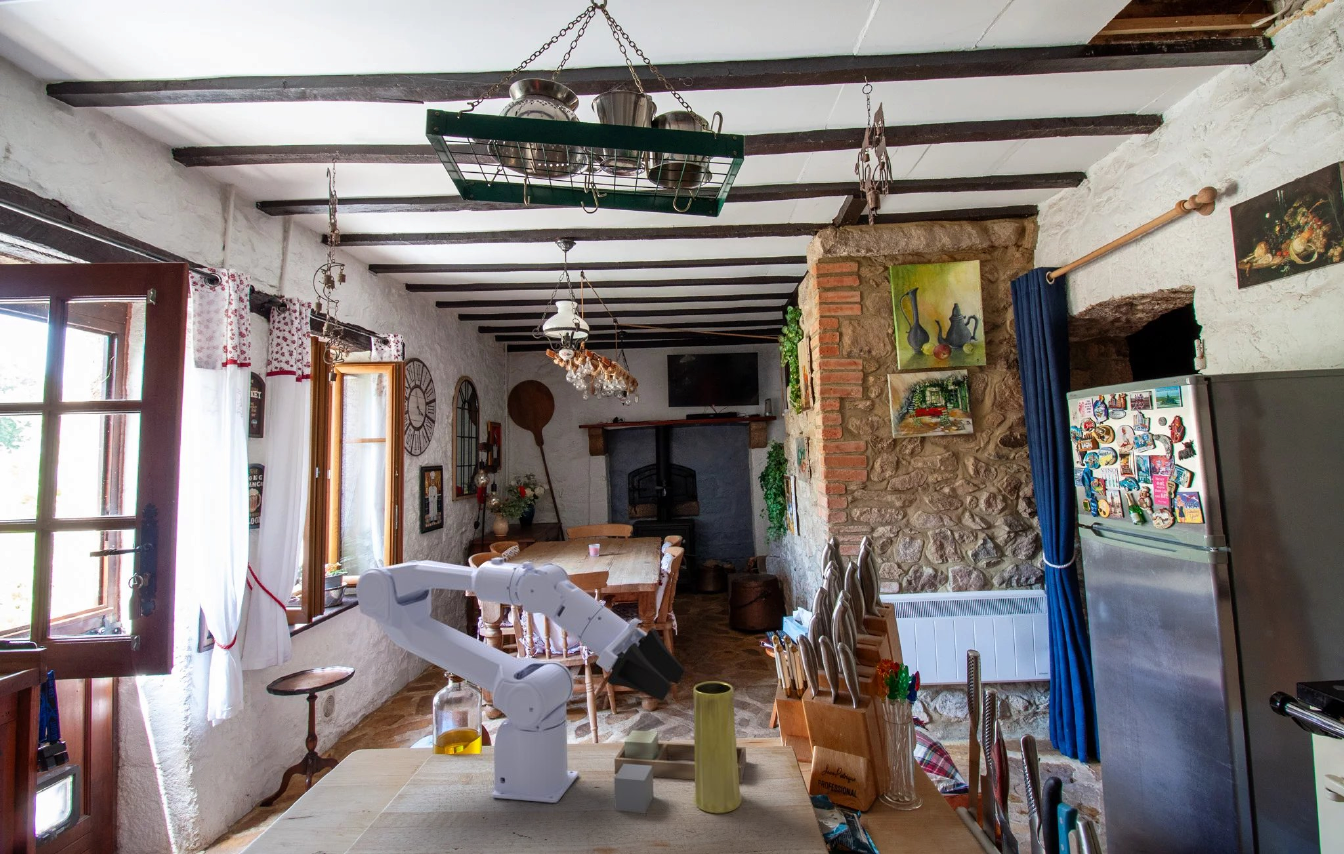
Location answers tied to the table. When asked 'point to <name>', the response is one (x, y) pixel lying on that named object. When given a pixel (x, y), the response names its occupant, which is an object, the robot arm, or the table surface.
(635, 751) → the walnut rack
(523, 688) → the robot arm
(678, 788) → the table surface
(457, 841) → the table surface
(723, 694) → the vase
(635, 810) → the grey block
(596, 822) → the table surface
